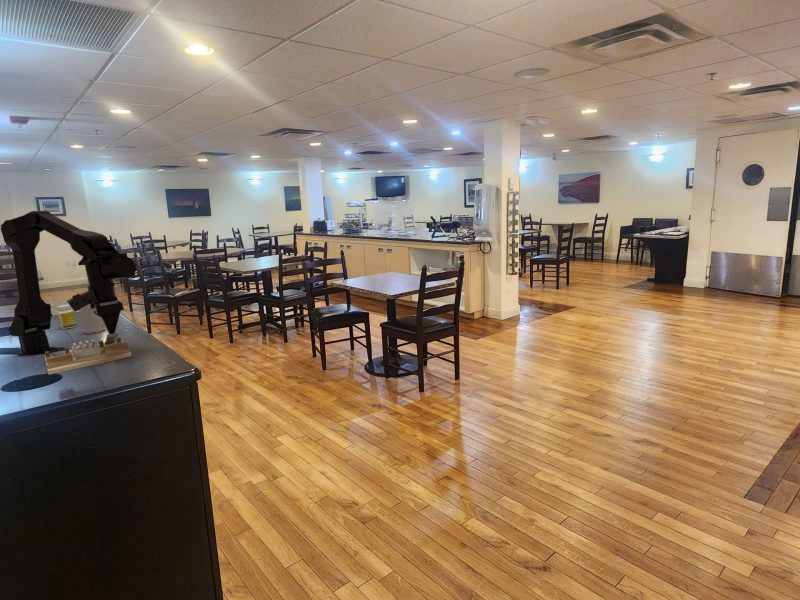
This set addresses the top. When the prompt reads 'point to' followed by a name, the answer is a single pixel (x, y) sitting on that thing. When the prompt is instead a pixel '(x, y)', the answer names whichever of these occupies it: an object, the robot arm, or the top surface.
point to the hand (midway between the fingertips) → (111, 334)
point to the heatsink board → (88, 361)
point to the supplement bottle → (66, 317)
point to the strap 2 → (111, 338)
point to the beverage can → (91, 320)
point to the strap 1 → (57, 353)
